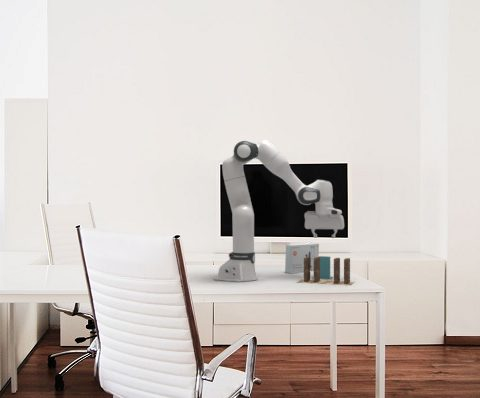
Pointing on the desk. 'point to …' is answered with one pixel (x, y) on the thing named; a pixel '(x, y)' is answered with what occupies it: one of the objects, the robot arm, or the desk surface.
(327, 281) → the oak board
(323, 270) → the tile
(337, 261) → the tile
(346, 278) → the tile
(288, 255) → the skincare box
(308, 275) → the dark wood plank
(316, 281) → the tile
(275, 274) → the desk surface
